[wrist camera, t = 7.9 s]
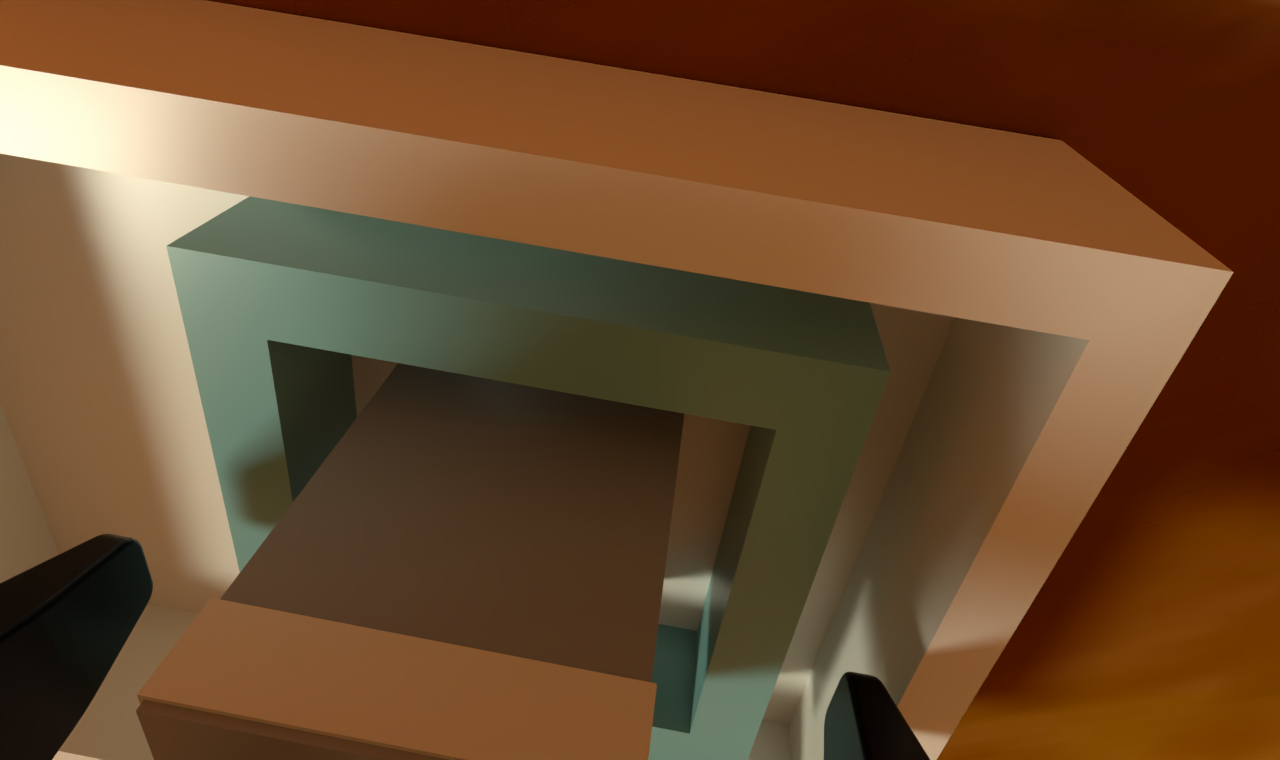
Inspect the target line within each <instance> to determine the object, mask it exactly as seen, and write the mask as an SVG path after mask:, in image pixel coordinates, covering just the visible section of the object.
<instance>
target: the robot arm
mask: <svg viewBox="0 0 1280 760" xmlns="http://www.w3.org/2000/svg"><path fill="white" fill-rule="evenodd" d="M152 591H153V579H152V576H151V573H150V570H149V567H148V563H147V560H146V557H145V554H144V551H143V548H142V545H141V543H140V542H139V541H138V540H137V539H135V538H131V537H125V536H120V535H115V534H102V535H98V536H96V537H93V538H91V539H89V540H87V541H85V542H83V543H81V544H79V545H77V546H75V547H73V548H71V549H69V550H67V551H65V552H63V553H61V554H59V555H57V556H55V557H53V558H51V559H49V560H47V561H44V562H42V563H40V564H38V565H36V566H34V567H32V568H30V569H28V570H26V571H24V572H22V573H20V574H18V575H16V576H14V577H12V578H10V579H8V580H6V581H4V582H2V583H0V760H52V759H53V758H54V756H55V755H56V754H57V752H58V751H59V749H60V748H61V746H62V745H63V744H64V742H65V741H66V739H67V738H68V737H69V735H70V734H71V732H72V731H73V729H74V728H75V726H76V725H77V723H78V722H79V720H80V719H81V717H82V716H83V715H84V713H85V711H86V710H87V708H88V707H89V705H90V703H91V702H92V700H93V698H94V697H95V695H96V693H97V692H98V690H99V688H100V686H101V685H102V683H103V681H104V679H105V678H106V676H107V674H108V672H109V671H110V669H111V667H112V665H113V664H114V662H115V660H116V658H117V657H118V655H119V653H120V651H121V650H122V648H123V646H124V644H125V643H126V641H127V639H128V637H129V636H130V634H131V632H132V630H133V629H134V627H135V625H136V623H137V622H138V620H139V618H140V616H141V615H142V613H143V611H144V609H145V608H146V606H147V604H148V602H149V600H150V598H151V595H152ZM824 760H930V758H929V757H928V755H927V754H926V752H925V750H924V749H923V747H922V746H921V744H920V742H919V741H918V739H917V738H916V736H915V734H914V733H913V731H912V729H911V728H910V726H909V725H908V723H907V721H906V720H905V718H904V717H903V715H902V713H901V712H900V710H899V709H898V707H897V705H896V704H895V702H894V701H893V699H892V697H891V696H890V694H889V693H888V691H887V689H886V688H885V686H884V685H883V683H882V682H881V681H880V680H879V679H878V678H877V677H875V676H872V675H867V674H861V673H856V672H846V673H844V674H843V675H842V677H841V679H840V681H839V683H838V686H837V688H836V690H835V692H834V695H833V697H832V699H831V701H830V704H829V706H828V708H827V711H826V715H825V721H824Z"/></svg>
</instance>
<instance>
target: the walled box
mask: <svg viewBox="0 0 1280 760" xmlns="http://www.w3.org/2000/svg"><path fill="white" fill-rule="evenodd" d="M1232 274H1233V271H1232V270H1230V269H1229V268H1228V267H1226V266H1225V265H1224V264H1222V263H1221V262H1220V261H1219V260H1217V259H1216V258H1215V257H1213V256H1212V255H1211V254H1209V253H1208V252H1207V251H1206V250H1204V249H1203V248H1202V247H1200V246H1199V245H1198V244H1196V243H1195V242H1194V241H1192V240H1191V239H1190V238H1189V237H1187V236H1186V235H1185V234H1183V233H1182V232H1181V231H1179V230H1178V229H1177V228H1175V227H1174V226H1173V225H1172V224H1170V223H1169V222H1168V221H1166V220H1165V219H1164V218H1162V217H1161V216H1160V215H1158V214H1157V213H1156V212H1155V211H1153V210H1152V209H1151V208H1149V207H1148V206H1147V205H1145V204H1144V203H1143V202H1141V201H1140V200H1139V199H1138V198H1136V197H1135V196H1134V195H1132V194H1131V193H1130V192H1128V191H1127V190H1126V189H1125V188H1123V187H1122V186H1121V185H1119V184H1118V183H1117V182H1115V181H1114V180H1113V179H1111V178H1110V177H1109V176H1108V175H1106V174H1105V173H1104V172H1102V171H1101V170H1100V169H1098V168H1097V167H1096V166H1094V165H1093V164H1092V163H1091V162H1089V161H1088V160H1087V159H1085V158H1084V157H1083V156H1081V155H1080V154H1079V153H1077V152H1076V151H1075V150H1074V149H1072V148H1071V147H1070V146H1068V145H1067V144H1066V143H1064V142H1063V141H1062V140H1056V139H1050V138H1044V137H1038V136H1032V135H1026V134H1020V133H1014V132H1008V131H1001V130H995V129H989V128H983V127H977V126H971V125H965V124H959V123H953V122H946V121H940V120H934V119H928V118H922V117H916V116H910V115H904V114H898V113H892V112H885V111H879V110H873V109H867V108H861V107H855V106H849V105H843V104H837V103H830V102H824V101H818V100H812V99H806V98H800V97H794V96H788V95H782V94H775V93H769V92H763V91H757V90H751V89H745V88H739V87H733V86H727V85H720V84H714V83H708V82H702V81H696V80H690V79H684V78H678V77H672V76H666V75H659V74H653V73H647V72H641V71H635V70H629V69H623V68H617V67H611V66H604V65H598V64H592V63H586V62H580V61H574V60H568V59H562V58H556V57H549V56H543V55H537V54H531V53H525V52H519V51H513V50H507V49H501V48H495V47H488V46H482V45H476V44H470V43H464V42H458V41H452V40H446V39H440V38H433V37H427V36H421V35H415V34H409V33H403V32H397V31H391V30H385V29H378V28H372V27H366V26H360V25H354V24H348V23H342V22H336V21H330V20H323V19H317V18H311V17H305V16H299V15H293V14H287V13H281V12H275V11H269V10H262V9H256V8H250V7H244V6H238V5H232V4H226V3H220V2H214V1H207V0H0V583H2V582H4V581H6V580H8V579H10V578H12V577H14V576H16V575H18V574H20V573H22V572H24V571H26V570H28V569H30V568H32V567H34V566H36V565H38V564H40V563H42V562H44V561H47V560H49V559H51V558H53V557H55V556H57V555H59V554H61V553H63V552H65V551H67V550H69V549H71V548H73V547H75V546H77V545H79V544H81V543H83V542H85V541H87V540H89V539H91V538H93V537H96V536H98V535H102V534H115V535H120V536H125V537H131V538H135V539H137V540H138V541H139V542H140V543H141V545H142V548H143V551H144V554H145V557H146V560H147V563H148V567H149V570H150V573H151V576H152V579H153V591H152V595H151V598H150V600H149V602H148V604H147V606H146V608H145V609H144V611H143V613H142V615H141V616H140V618H139V620H138V622H137V623H136V625H135V627H134V629H133V630H132V632H131V634H130V636H129V637H128V639H127V641H126V643H125V644H124V646H123V648H122V650H121V651H120V653H119V655H118V657H117V658H116V660H115V662H114V664H113V665H112V667H111V669H110V671H109V672H108V674H107V676H106V678H105V679H104V681H103V683H102V685H101V686H100V688H99V690H98V692H97V693H96V695H95V697H94V698H93V700H92V702H91V703H90V705H89V707H88V708H87V710H86V711H85V713H84V715H83V716H82V717H81V719H80V720H79V722H78V723H77V725H76V726H75V728H74V729H73V731H72V732H71V734H70V735H69V737H68V738H67V739H66V741H65V742H64V744H63V745H62V746H61V748H60V749H59V751H58V752H57V754H56V755H55V756H54V758H53V759H52V760H154V758H153V756H152V753H151V750H150V748H149V745H148V742H147V740H146V737H145V734H144V732H143V729H142V726H141V724H140V721H139V718H138V716H137V713H136V710H137V708H138V707H139V706H140V702H139V700H138V697H137V694H138V692H139V691H140V690H141V688H142V687H143V686H144V684H145V683H146V682H147V681H148V679H149V678H150V677H151V675H152V674H153V673H154V671H155V670H156V669H157V668H158V666H159V665H160V664H161V662H162V661H163V660H164V658H165V657H166V656H167V655H168V653H169V652H170V651H171V649H172V648H173V647H174V645H175V644H176V643H177V642H178V640H179V639H180V638H181V636H182V635H183V634H184V632H185V631H186V630H187V629H188V627H189V626H190V625H191V623H192V622H193V621H194V619H195V618H196V617H197V616H198V614H199V613H200V612H201V610H202V609H203V608H204V606H205V605H206V604H207V603H208V601H209V600H210V599H211V598H216V599H220V598H221V597H222V596H223V594H224V593H225V592H226V591H227V589H228V588H229V587H230V585H231V584H232V583H233V581H234V580H235V579H236V577H237V576H238V575H239V573H240V572H241V571H242V569H243V568H244V567H245V565H246V564H247V563H248V561H249V560H250V559H251V557H252V556H253V555H254V553H255V552H256V551H257V549H258V548H259V547H260V545H261V544H262V543H263V542H264V540H265V539H266V538H267V536H268V535H269V534H270V532H271V531H272V530H273V528H274V527H275V526H276V524H277V523H278V522H279V520H280V519H281V518H282V516H283V515H284V514H285V512H286V511H287V510H288V508H289V507H290V506H291V504H292V503H293V502H294V500H295V499H296V498H297V496H298V495H299V494H300V493H301V491H302V490H303V489H304V487H305V486H306V485H307V483H308V482H309V481H310V479H311V478H312V477H313V475H314V474H315V473H316V471H317V470H318V469H319V467H320V466H321V465H322V463H323V462H324V461H325V459H326V458H327V457H328V455H329V454H330V453H331V451H332V450H333V449H334V448H335V446H336V445H337V444H338V442H339V441H340V440H341V438H342V437H343V436H344V434H345V433H346V432H347V430H348V429H349V428H350V426H351V425H352V424H353V422H354V421H355V420H356V418H357V417H358V416H359V414H360V413H361V412H362V410H363V409H364V408H365V406H366V405H367V404H368V402H369V401H370V400H371V399H372V397H373V396H374V395H375V393H376V392H377V391H378V389H379V388H380V387H381V385H382V384H383V383H384V381H385V380H386V379H387V377H388V376H389V375H390V373H391V372H392V371H393V369H394V368H395V367H396V365H397V364H398V363H401V364H407V365H412V366H418V367H424V368H429V369H435V370H441V371H446V372H452V373H458V374H463V375H469V376H474V377H480V378H486V379H491V380H497V381H503V382H508V383H514V384H520V385H525V386H531V387H537V388H542V389H548V390H553V391H559V392H565V393H570V394H576V395H582V396H587V397H593V398H599V399H604V400H610V401H616V402H621V403H627V404H632V405H638V406H644V407H649V408H655V409H661V410H666V411H672V412H678V413H683V414H684V421H683V429H682V437H681V445H680V453H679V461H678V469H677V477H676V485H675V494H674V502H673V510H672V518H671V526H670V534H669V542H668V550H667V558H666V566H665V574H664V583H663V591H662V599H661V607H660V615H659V623H658V631H657V639H656V647H655V655H654V663H653V672H652V680H651V683H656V684H657V688H656V697H655V706H654V714H653V723H652V731H651V740H650V749H649V757H648V760H824V721H825V715H826V711H827V708H828V706H829V704H830V701H831V699H832V697H833V695H834V692H835V690H836V688H837V686H838V683H839V681H840V679H841V677H842V675H843V674H844V673H846V672H856V673H861V674H867V675H872V676H875V677H877V678H878V679H879V680H880V681H881V682H882V683H883V685H884V686H885V688H886V689H887V691H888V693H889V694H890V696H891V697H892V699H893V701H894V702H895V704H896V705H897V707H898V709H899V710H900V712H901V713H902V715H903V717H904V718H905V720H906V721H907V723H908V725H909V726H910V728H911V729H912V731H913V733H914V734H915V736H916V738H917V739H918V741H919V742H920V744H921V746H922V747H923V749H924V750H925V752H926V754H927V755H928V757H929V758H930V760H937V758H938V756H939V755H940V753H941V751H942V750H943V748H944V746H945V745H946V743H947V741H948V740H949V738H950V737H951V735H952V733H953V732H954V730H955V728H956V727H957V725H958V723H959V722H960V720H961V719H962V717H963V715H964V714H965V712H966V710H967V709H968V707H969V705H970V704H971V702H972V700H973V699H974V697H975V696H976V694H977V692H978V691H979V689H980V687H981V686H982V684H983V682H984V681H985V679H986V678H987V676H988V674H989V673H990V671H991V669H992V668H993V666H994V664H995V663H996V661H997V659H998V658H999V656H1000V655H1001V653H1002V651H1003V650H1004V648H1005V646H1006V645H1007V643H1008V641H1009V640H1010V638H1011V637H1012V635H1013V633H1014V632H1015V630H1016V628H1017V627H1018V625H1019V623H1020V622H1021V620H1022V618H1023V617H1024V615H1025V614H1026V612H1027V610H1028V609H1029V607H1030V605H1031V604H1032V602H1033V600H1034V599H1035V597H1036V596H1037V594H1038V592H1039V591H1040V589H1041V587H1042V586H1043V584H1044V582H1045V581H1046V579H1047V577H1048V576H1049V574H1050V573H1051V571H1052V569H1053V568H1054V566H1055V564H1056V563H1057V561H1058V559H1059V558H1060V556H1061V555H1062V553H1063V551H1064V550H1065V548H1066V546H1067V545H1068V543H1069V541H1070V540H1071V538H1072V536H1073V535H1074V533H1075V532H1076V530H1077V528H1078V527H1079V525H1080V523H1081V522H1082V520H1083V518H1084V517H1085V515H1086V514H1087V512H1088V510H1089V509H1090V507H1091V505H1092V504H1093V502H1094V500H1095V499H1096V497H1097V495H1098V494H1099V492H1100V491H1101V489H1102V487H1103V486H1104V484H1105V482H1106V481H1107V479H1108V477H1109V476H1110V474H1111V473H1112V471H1113V469H1114V468H1115V466H1116V464H1117V463H1118V461H1119V459H1120V458H1121V456H1122V454H1123V453H1124V451H1125V450H1126V448H1127V446H1128V445H1129V443H1130V441H1131V440H1132V438H1133V436H1134V435H1135V433H1136V432H1137V430H1138V428H1139V427H1140V425H1141V423H1142V422H1143V420H1144V418H1145V417H1146V415H1147V413H1148V412H1149V410H1150V409H1151V407H1152V405H1153V404H1154V402H1155V400H1156V399H1157V397H1158V395H1159V394H1160V392H1161V391H1162V389H1163V387H1164V386H1165V384H1166V382H1167V381H1168V379H1169V377H1170V376H1171V374H1172V372H1173V371H1174V369H1175V368H1176V366H1177V364H1178V363H1179V361H1180V359H1181V358H1182V356H1183V354H1184V353H1185V351H1186V350H1187V348H1188V346H1189V345H1190V343H1191V341H1192V340H1193V338H1194V336H1195V335H1196V333H1197V332H1198V330H1199V328H1200V327H1201V325H1202V323H1203V322H1204V320H1205V318H1206V317H1207V315H1208V313H1209V312H1210V310H1211V309H1212V307H1213V305H1214V304H1215V302H1216V300H1217V299H1218V297H1219V295H1220V294H1221V292H1222V291H1223V289H1224V287H1225V286H1226V284H1227V282H1228V281H1229V279H1230V277H1231V276H1232Z"/></svg>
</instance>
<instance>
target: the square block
mask: <svg viewBox="0 0 1280 760" xmlns="http://www.w3.org/2000/svg"><path fill="white" fill-rule="evenodd" d="M683 421H684V414H683V413H678V412H672V411H666V410H661V409H655V408H649V407H644V406H638V405H632V404H627V403H621V402H616V401H610V400H604V399H599V398H593V397H587V396H582V395H576V394H570V393H565V392H559V391H553V390H548V389H542V388H537V387H531V386H525V385H520V384H514V383H508V382H503V381H497V380H491V379H486V378H480V377H474V376H469V375H463V374H458V373H452V372H446V371H441V370H435V369H429V368H424V367H418V366H412V365H407V364H401V363H398V364H397V365H396V367H395V368H394V369H393V371H392V372H391V373H390V375H389V376H388V377H387V379H386V380H385V381H384V383H383V384H382V385H381V387H380V388H379V389H378V391H377V392H376V393H375V395H374V396H373V397H372V399H371V400H370V401H369V402H368V404H367V405H366V406H365V408H364V409H363V410H362V412H361V413H360V414H359V416H358V417H357V418H356V420H355V421H354V422H353V424H352V425H351V426H350V428H349V429H348V430H347V432H346V433H345V434H344V436H343V437H342V438H341V440H340V441H339V442H338V444H337V445H336V446H335V448H334V449H333V450H332V451H331V453H330V454H329V455H328V457H327V458H326V459H325V461H324V462H323V463H322V465H321V466H320V467H319V469H318V470H317V471H316V473H315V474H314V475H313V477H312V478H311V479H310V481H309V482H308V483H307V485H306V486H305V487H304V489H303V490H302V491H301V493H300V494H299V495H298V496H297V498H296V499H295V500H294V502H293V503H292V504H291V506H290V507H289V508H288V510H287V511H286V512H285V514H284V515H283V516H282V518H281V519H280V520H279V522H278V523H277V524H276V526H275V527H274V528H273V530H272V531H271V532H270V534H269V535H268V536H267V538H266V539H265V540H264V542H263V543H262V544H261V545H260V547H259V548H258V549H257V551H256V552H255V553H254V555H253V556H252V557H251V559H250V560H249V561H248V563H247V564H246V565H245V567H244V568H243V569H242V571H241V572H240V573H239V575H238V576H237V577H236V579H235V580H234V581H233V583H232V584H231V585H230V587H229V588H228V589H227V591H226V592H225V593H224V594H223V596H222V597H221V598H220V599H216V598H211V599H210V600H209V601H208V603H207V604H206V605H205V606H204V608H203V609H202V610H201V612H200V613H199V614H198V616H197V617H196V618H195V619H194V621H193V622H192V623H191V625H190V626H189V627H188V629H187V630H186V631H185V632H184V634H183V635H182V636H181V638H180V639H179V640H178V642H177V643H176V644H175V645H174V647H173V648H172V649H171V651H170V652H169V653H168V655H167V656H166V657H165V658H164V660H163V661H162V662H161V664H160V665H159V666H158V668H157V669H156V670H155V671H154V673H153V674H152V675H151V677H150V678H149V679H148V681H147V682H146V683H145V684H144V686H143V687H142V688H141V690H140V691H139V692H138V694H137V697H138V700H139V702H140V706H139V707H138V708H137V710H136V713H137V716H138V718H139V721H140V724H141V726H142V729H143V732H144V734H145V737H146V740H147V742H148V745H149V748H150V750H151V753H152V756H153V758H154V760H648V757H649V749H650V740H651V731H652V723H653V714H654V706H655V697H656V688H657V684H656V683H651V680H652V672H653V663H654V655H655V647H656V639H657V631H658V623H659V615H660V607H661V599H662V591H663V583H664V574H665V566H666V558H667V550H668V542H669V534H670V526H671V518H672V510H673V502H674V494H675V485H676V477H677V469H678V461H679V453H680V445H681V437H682V429H683Z"/></svg>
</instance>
